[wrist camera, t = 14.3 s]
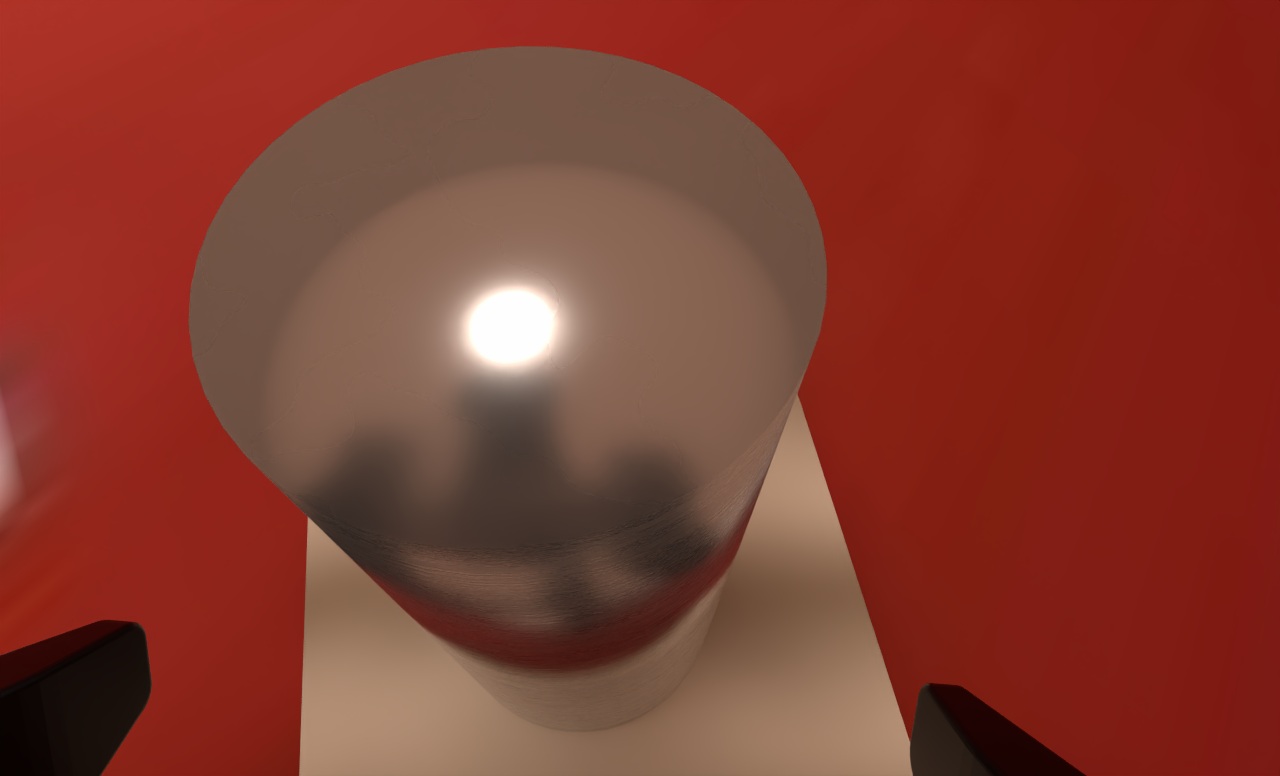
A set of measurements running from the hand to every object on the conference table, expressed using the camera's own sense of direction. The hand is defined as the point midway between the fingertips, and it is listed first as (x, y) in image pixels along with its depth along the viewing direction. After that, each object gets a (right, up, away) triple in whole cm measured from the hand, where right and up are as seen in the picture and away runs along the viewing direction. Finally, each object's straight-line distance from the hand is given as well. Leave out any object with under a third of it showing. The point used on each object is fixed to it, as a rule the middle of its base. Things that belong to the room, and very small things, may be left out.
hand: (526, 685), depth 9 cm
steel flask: (0, -2, +9) cm, 10 cm away
